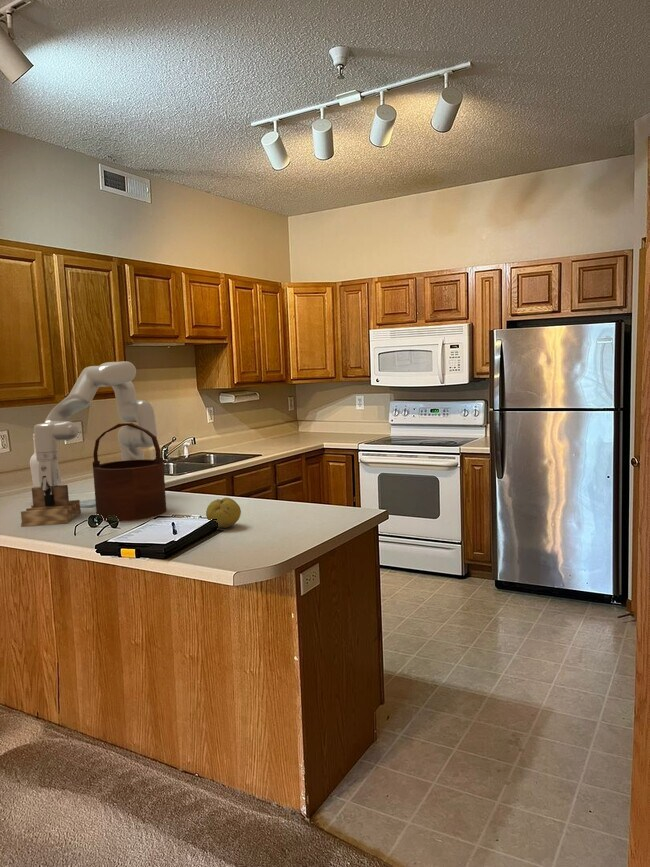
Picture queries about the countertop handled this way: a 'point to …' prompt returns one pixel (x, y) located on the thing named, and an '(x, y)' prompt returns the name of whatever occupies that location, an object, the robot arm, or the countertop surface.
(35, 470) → the bottle
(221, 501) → the fruit
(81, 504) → the pale blue rounded part
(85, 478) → the countertop surface
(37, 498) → the board
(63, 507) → the rack
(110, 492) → the wooden bucket
